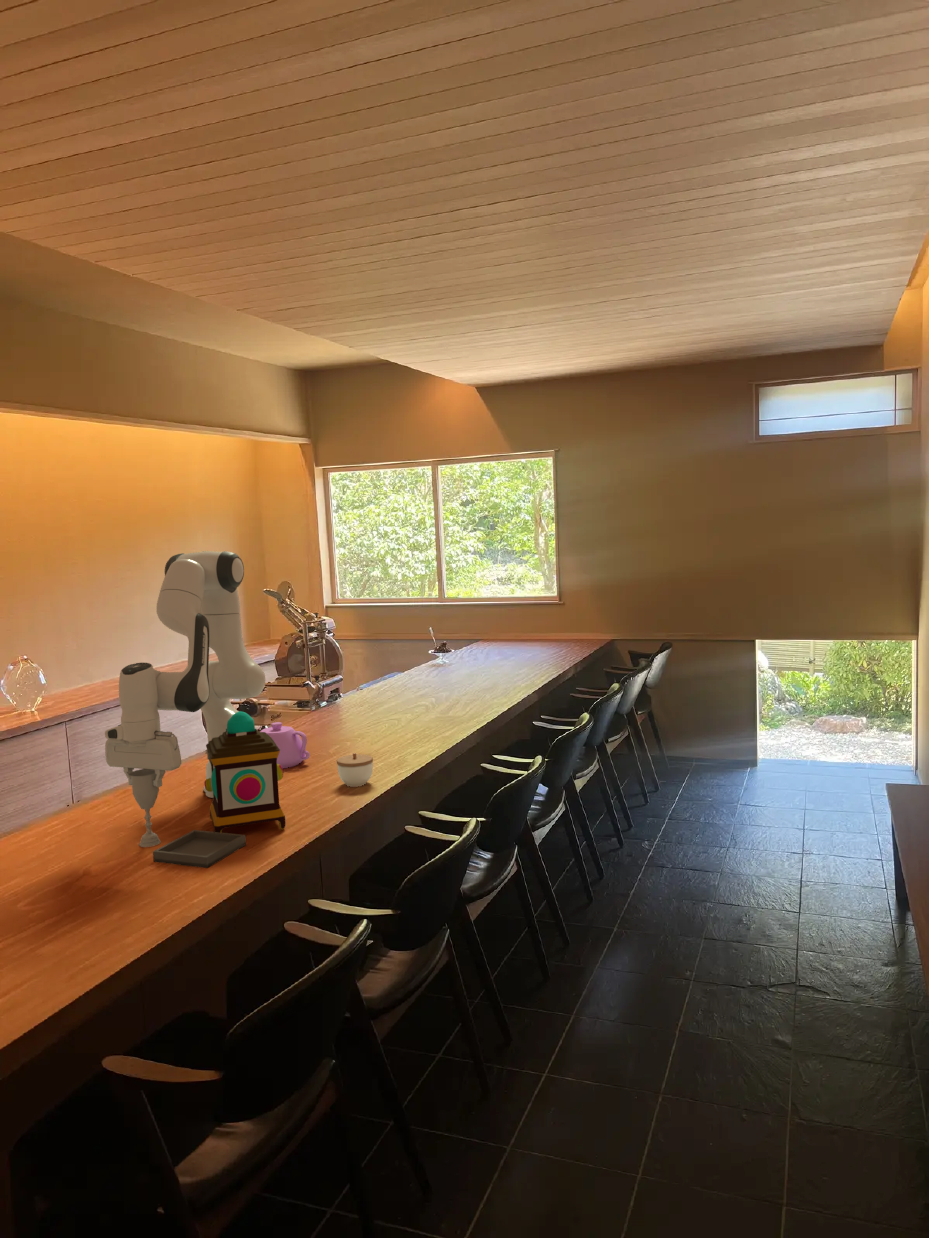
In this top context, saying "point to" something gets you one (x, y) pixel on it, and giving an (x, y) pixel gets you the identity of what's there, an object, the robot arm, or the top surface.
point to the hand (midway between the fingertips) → (145, 785)
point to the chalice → (145, 801)
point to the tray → (199, 848)
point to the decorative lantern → (244, 776)
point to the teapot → (288, 744)
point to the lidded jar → (355, 769)
